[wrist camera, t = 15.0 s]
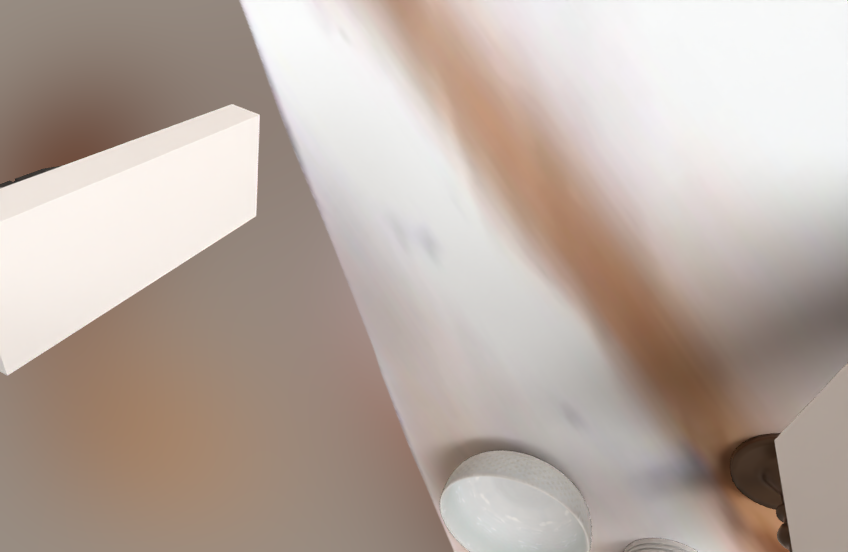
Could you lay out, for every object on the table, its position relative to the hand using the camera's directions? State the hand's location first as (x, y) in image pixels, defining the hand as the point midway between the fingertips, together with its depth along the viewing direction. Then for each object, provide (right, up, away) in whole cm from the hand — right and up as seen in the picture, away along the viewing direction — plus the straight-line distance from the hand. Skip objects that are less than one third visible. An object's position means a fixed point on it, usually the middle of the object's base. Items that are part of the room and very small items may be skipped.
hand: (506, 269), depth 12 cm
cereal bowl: (+10, -25, +55) cm, 61 cm away
